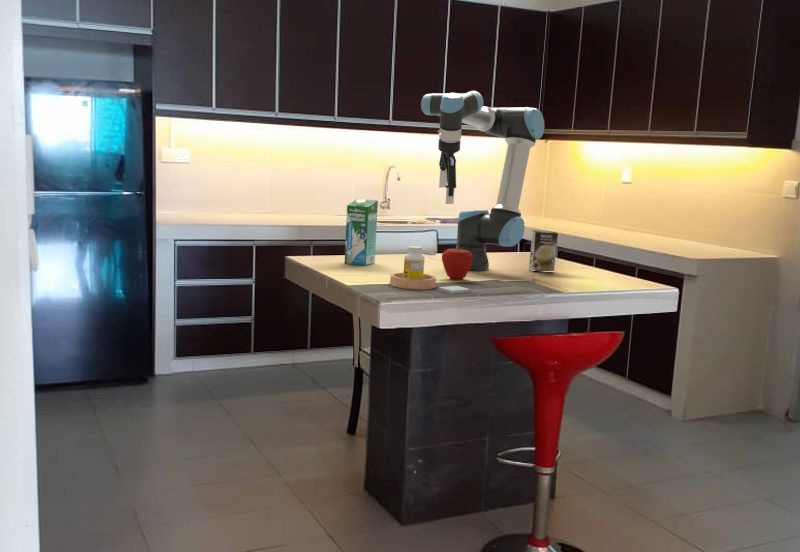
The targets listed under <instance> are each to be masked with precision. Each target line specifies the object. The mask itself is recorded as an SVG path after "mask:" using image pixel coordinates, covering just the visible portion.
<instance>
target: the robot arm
mask: <svg viewBox="0 0 800 552" xmlns="http://www.w3.org/2000/svg"><path fill="white" fill-rule="evenodd" d="M420 107H421V108H420V109H421V111H422V113H423V114H424V115H426V116H431V117H432V116H437V117H439V129H438V130H437V133H438V137H439V139H438V150H439V151H440V152H441V153H440V158H439V162H438V166H439V182H438V183H439V184H438V187H439V188H445V189H446V190H445V191H446V192H445V193H446V194H445V204H446V205H454V203H455V202H454V201H455V190H456V189H457V173H456V172H457V171H456V170H457V169H456V168H457V166H456V165H457V160H456V159H457V158H456V156H455V155H454V154H456V153H458V152H460V150H461V139H462V128H463V127H462V124H465V125H469V126H473V127H474V128H475V129H477V130H478V131H480V132H483V133H486V134H488V135H492V136H496V137H499V138H505V140H504V141H505V142H506V144H507V149H506V154H505V158H504V159H505V160H504V164H503V169H502V175H501V179H500V183H499V184H500V185H499V187H498V189H499V190H498V195H497V199H496V200H497V201H496V204H495V205H494V206H492V208H491V209H490V212H489V210H488V209H474V210H461V211H459V214H458V219H457V231H456V232H457V235H456V247H455V249H458V247H459V249H463V250H467V251H470V253H471V254H472V256H473V262H472V264H471V267H470V269H469V271H487V270H486V269H488V270H489V267H490V263H489V257H488V253H487V250H486V249H487V248H486V247H487V245H494V246H500V247H515V246H516V245H517V244H519V243H520V241H521V240H522V238H523V236H524V233H525V229H526V228H525V227H526V226H525V220H524V219H523V218H522V213H521V211H520V210H519V208H520V207H519V206H520V201H521V197H522V192H523V186H524V181H525V177H526V171H527V168H528V167H527V166H528V161H529V157H530V150H531V148H533V147H534V146H535V145H536V142H537V140H540V139H541V138H542V137H543V135H544V133H545V119H544V116H543V113H542V111H540V110H539V109H538V108H537V107H536V108H535V107H529V106H525V107H505V106H504V107H489V106H484V98H483V95H481V93H480V92H478V91H476V90H470V91H467V92H466V93H457V92H449V93H448V92H447V93H426V94H425V95H423V96H422V99H421V102H420Z"/></svg>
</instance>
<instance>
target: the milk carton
mask: <svg viewBox="0 0 800 552" xmlns="http://www.w3.org/2000/svg"><path fill="white" fill-rule="evenodd" d="M378 205H379V201H378V200H376V199H375V200H374V199H365V198H364V199H363V198H355V200H353V201H352V202H350V203H348V204H347V205H346V225H345V245H344V246H345V247H344V264H347V265H349V264H350V265H357V266H369V265H372V264H376V243H377V225H378Z"/></svg>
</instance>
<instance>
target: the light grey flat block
mask: <svg viewBox="0 0 800 552" xmlns="http://www.w3.org/2000/svg"><path fill="white" fill-rule="evenodd" d="M438 289H439V291H443V292H446V293H450V294H452V295H456V294H455V293H467V292H470V291H471V288H467V287H463V286H460V285H451V286H450V285H449V286H441V287H440V286H439V287H438Z"/></svg>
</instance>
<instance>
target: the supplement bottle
mask: <svg viewBox="0 0 800 552" xmlns="http://www.w3.org/2000/svg"><path fill="white" fill-rule="evenodd" d="M422 251H423V246H420V245H408V247H407V252H408V253H406V254H405V255H404V258H403V259H404V260H403V261H404V262H403V273H404V274H403V278H405V279H417V280H421V279H423V274H425V273H424V271H425V256H424V255H423V254H422Z"/></svg>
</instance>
